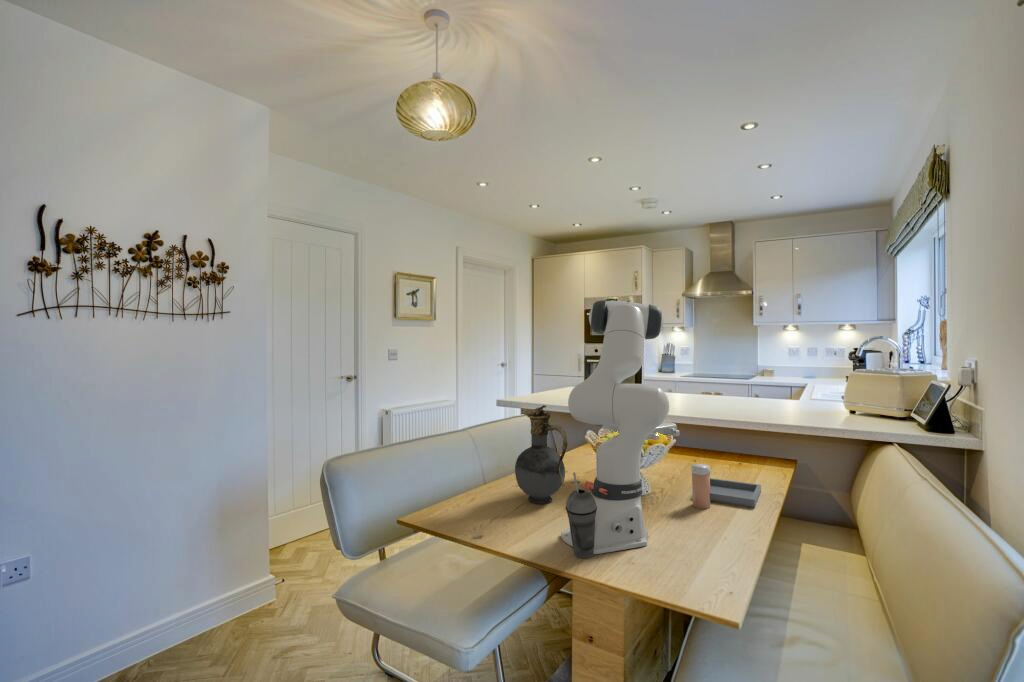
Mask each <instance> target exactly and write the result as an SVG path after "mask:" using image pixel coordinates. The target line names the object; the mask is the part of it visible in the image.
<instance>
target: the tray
mask: <svg viewBox="0 0 1024 682" xmlns="http://www.w3.org/2000/svg"><path fill="white" fill-rule="evenodd" d="M760 493H762V485H761V484H757V483H750V482H742V481H737V480H735V481H734V480H729V479H720V478H712V477H710V502H713V503H718V502H719V504H725V503H727V505H731V504H734V505H733V506H737V505H740V507H744V506H746V507H745V508H750V507H752V508H751V509H755V508H756V506H757V504H758V501H759V499H758V498H760V496H761V494H760ZM756 503H757V504H756Z"/></svg>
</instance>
